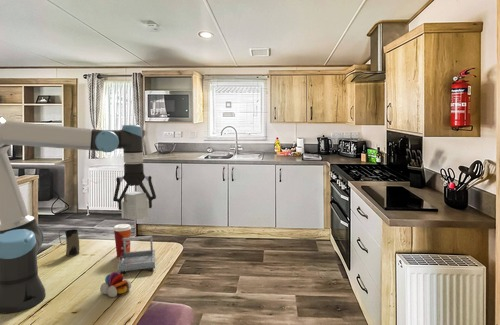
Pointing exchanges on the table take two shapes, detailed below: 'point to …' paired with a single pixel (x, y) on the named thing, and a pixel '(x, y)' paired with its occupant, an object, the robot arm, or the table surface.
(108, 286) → the rainbow segmented toy
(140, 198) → the small box
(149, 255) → the grey storage bin
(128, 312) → the table surface
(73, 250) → the mug
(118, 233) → the paper cup
